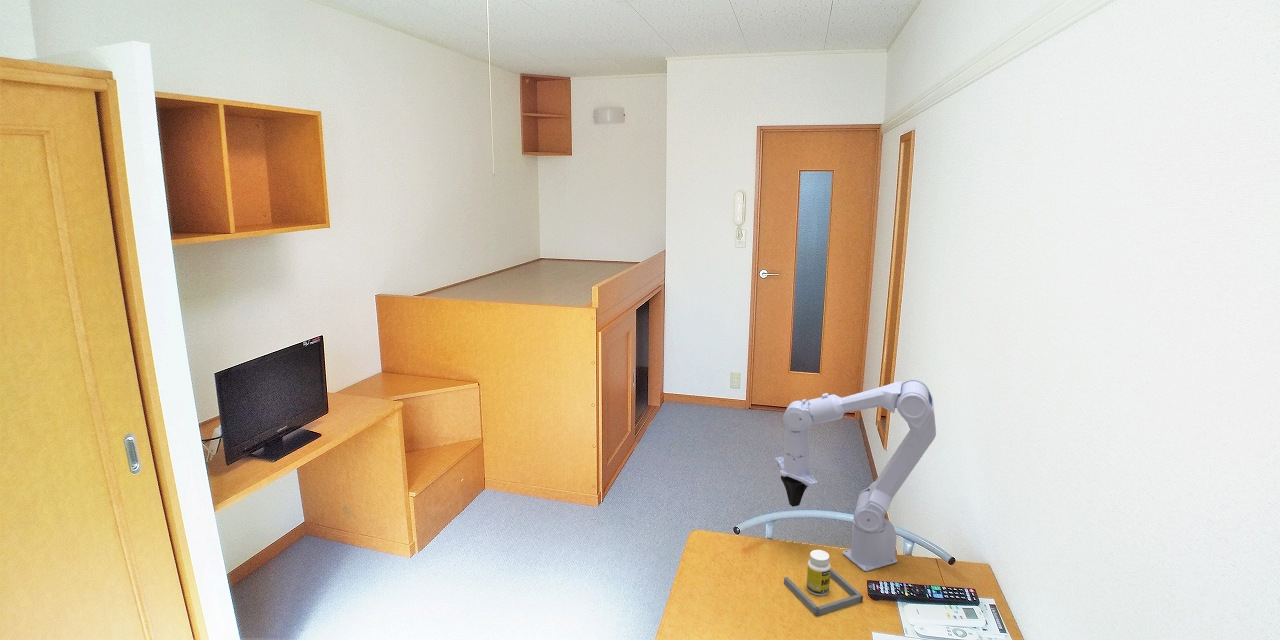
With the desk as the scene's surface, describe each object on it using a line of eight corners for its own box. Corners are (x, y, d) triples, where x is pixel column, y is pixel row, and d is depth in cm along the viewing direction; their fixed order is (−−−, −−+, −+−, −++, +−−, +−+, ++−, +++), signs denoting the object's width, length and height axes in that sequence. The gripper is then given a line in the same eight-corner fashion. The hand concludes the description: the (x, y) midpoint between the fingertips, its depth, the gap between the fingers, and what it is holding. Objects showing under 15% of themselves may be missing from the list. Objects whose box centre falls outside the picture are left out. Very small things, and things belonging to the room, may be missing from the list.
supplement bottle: (823, 599, 133) (824, 564, 132) (802, 590, 137) (804, 555, 135) (833, 588, 137) (835, 553, 135) (813, 579, 140) (814, 545, 138)
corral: (827, 570, 143) (827, 565, 143) (862, 602, 132) (863, 595, 132) (783, 583, 139) (784, 577, 139) (816, 616, 128) (816, 610, 128)
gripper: (764, 443, 154) (763, 494, 157) (800, 467, 140) (798, 523, 143) (789, 438, 156) (787, 488, 159) (826, 462, 143) (824, 516, 146)
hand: (794, 504), depth 151 cm, fingers closed
